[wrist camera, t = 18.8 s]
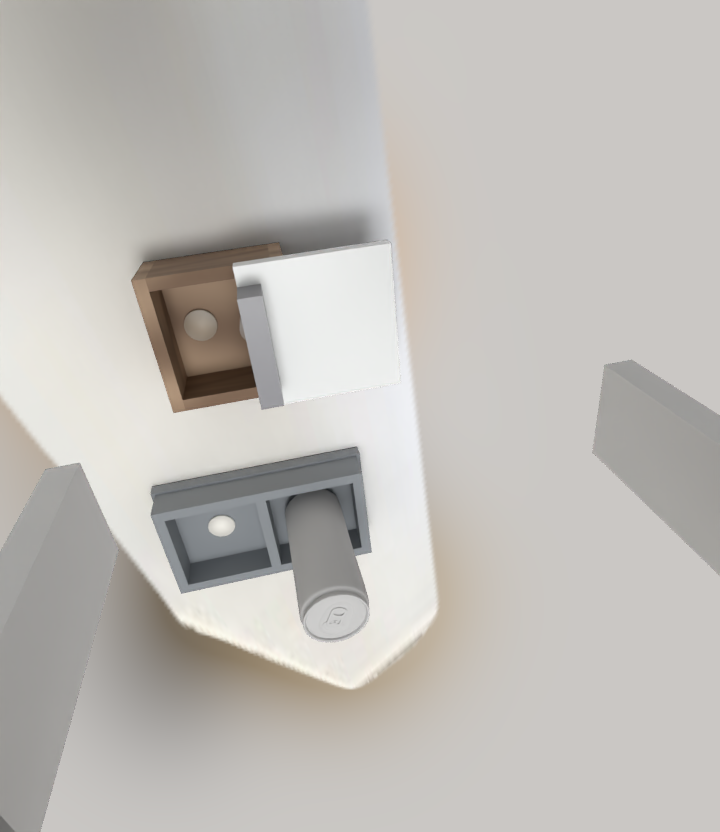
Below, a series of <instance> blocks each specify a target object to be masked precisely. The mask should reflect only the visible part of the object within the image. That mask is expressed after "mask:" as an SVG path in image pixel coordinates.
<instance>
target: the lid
mask: <svg viewBox="0 0 720 832" xmlns="http://www.w3.org/2000/svg"><path fill="white" fill-rule="evenodd" d="M233 271H234V276H235V280H236V285H237V303H238V307H239V311H240V316H241V320H242V325H243V329H244V334H245V338H246V342H247V347H248V351H249V356H250V360H251V365H252V369H253V373H254V378H255V382H256V387H257V391H258V396H259V400H260V404H261V409H262V410H263V409H268V408H274V407H279V406H284V405H285V404H290V403H296V402H301V401H307V400H312V399H318V398H323V397H328V396H334V395H339V394H345V393H350V392H356V391H361V390H367V389H372V388H378V387H383V386H389V385H394V384H400V383H401V375H400V361H399V347H398V334H397V320H396V306H395V292H394V279H393V265H392V251H391V243H390V242H389V241H388V240H382V241H375V242H369V243H362V244H355V245H349V246H342V247H336V248H329V249H322V250H316V251H309V252H302V253H296V254H289V255H283V256H276V257H269V258H263V259H256V260H250V261H243V262H236V263H233Z"/></svg>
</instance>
